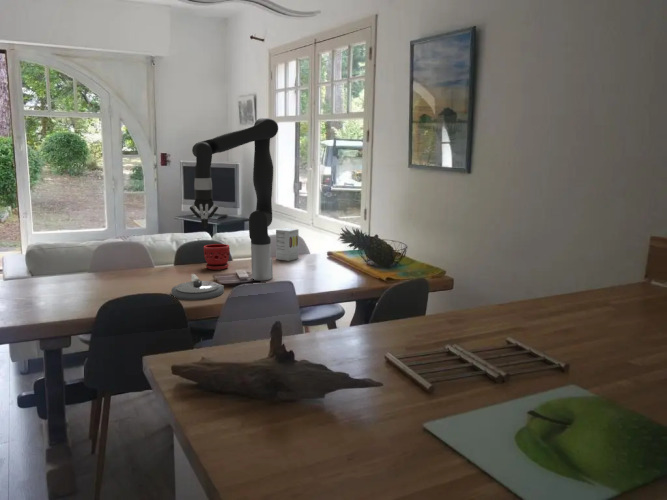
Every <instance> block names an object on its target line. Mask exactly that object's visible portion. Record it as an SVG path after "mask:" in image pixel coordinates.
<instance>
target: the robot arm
mask: <svg viewBox="0 0 667 500" xmlns="http://www.w3.org/2000/svg"><path fill="white" fill-rule="evenodd" d="M278 132H279V126H278V123H277V121H275V120H274V119H272V118H269V117H260V118H258V119H257V120H256V121H255V122H254V124H253V125H252V126H251V127H248V128H243V129H240V130H239V129H238V130H235V131H231V132H228V133H227V132H226V133H224V134H221V135H218V136H216V137H214V138H210V139H206V140H202V141H198V142H197V143H195V144H194V145H193V146H192V149H191V150H192V151H191V152H192V154H193V156H194V157H195V158H196V159H195V160H196V161H195V166H194V184H193V185H194V186H193V187H194V188H193V189H194V202H193V205H191V206H190V207H189V210H190V211H191V212H192V213H193V215H194V216H195V217H196V218H197V219H200V220H201V221H200V222H201V226H202V227H203V228H207V227H208V226H209V219H210V218H212V217H213V216H214V215H215V213H216V212H217V211H218V209H219V206H218V205H216V204H215V202H214V200H213V181H212V170H211V168H212V167H211V166H212V160H213V159H212V158H213V155H214V154H218V153H219V154H220V153H223V152H227V151H229V150H230V151H231V150H233V149H235V148H238V147H240V146H243V145H246V144H249V143H253V142H254V152H253V153H254V154H253V170H252V171H253V172H252V184H253V187H254V191H255V194H256V195H255V196H256V206H255V207H256V208H255V210H254V211H253V212H251V213H250V214H249V217H248V231H249V232H248V235H249V240H250V251H251V253H250V254H251V256H250V257H251V261H250V262H251V279H252V278H253V279H254V280H253V279H252V280H253V281H260V282H261V281H267V280H268V281H269V280H271V279H273V276H274V275H273V273H274V271H273V258H272V250H271V249H272V248H271V246H272V245H271V244H272V243H271V237H270V236H269V232H268V231H269V229H268V227H270V226H271V225H272V223H273V205H272V197H273V196H272V195H273V182H274V165H273V163H274V162H273V160H272V154H271V150H270V149H271V148H270V146H271V139H272V138H275V137H276V136H277V134H278ZM196 209H197V210H198V211H199V212H200V214H199V213H198V212H197V210H196ZM211 209H212V211H211V212H210V213H209V211H210V210H211Z"/></svg>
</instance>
